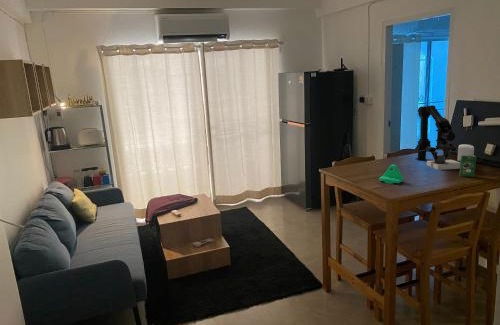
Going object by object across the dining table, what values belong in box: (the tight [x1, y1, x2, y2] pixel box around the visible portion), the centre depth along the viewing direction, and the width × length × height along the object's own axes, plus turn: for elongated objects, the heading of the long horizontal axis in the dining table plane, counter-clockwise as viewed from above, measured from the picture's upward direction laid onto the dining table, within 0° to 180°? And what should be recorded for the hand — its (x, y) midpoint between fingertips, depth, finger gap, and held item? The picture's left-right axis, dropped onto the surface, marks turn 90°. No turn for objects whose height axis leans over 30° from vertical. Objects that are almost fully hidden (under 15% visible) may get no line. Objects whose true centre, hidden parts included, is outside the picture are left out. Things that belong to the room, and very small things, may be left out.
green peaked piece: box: [378, 164, 404, 185], centre depth 224 cm, size 12×8×10 cm, turn 50°
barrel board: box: [426, 159, 461, 171], centre depth 255 cm, size 14×18×3 cm
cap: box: [435, 154, 445, 164], centre depth 254 cm, size 6×6×5 cm
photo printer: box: [457, 143, 475, 162], centre depth 267 cm, size 10×4×12 cm, turn 39°
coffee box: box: [458, 155, 477, 178], centre depth 229 cm, size 8×3×13 cm, turn 77°
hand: (440, 161), depth 254 cm, fingers closed on cap, 6 cm apart
